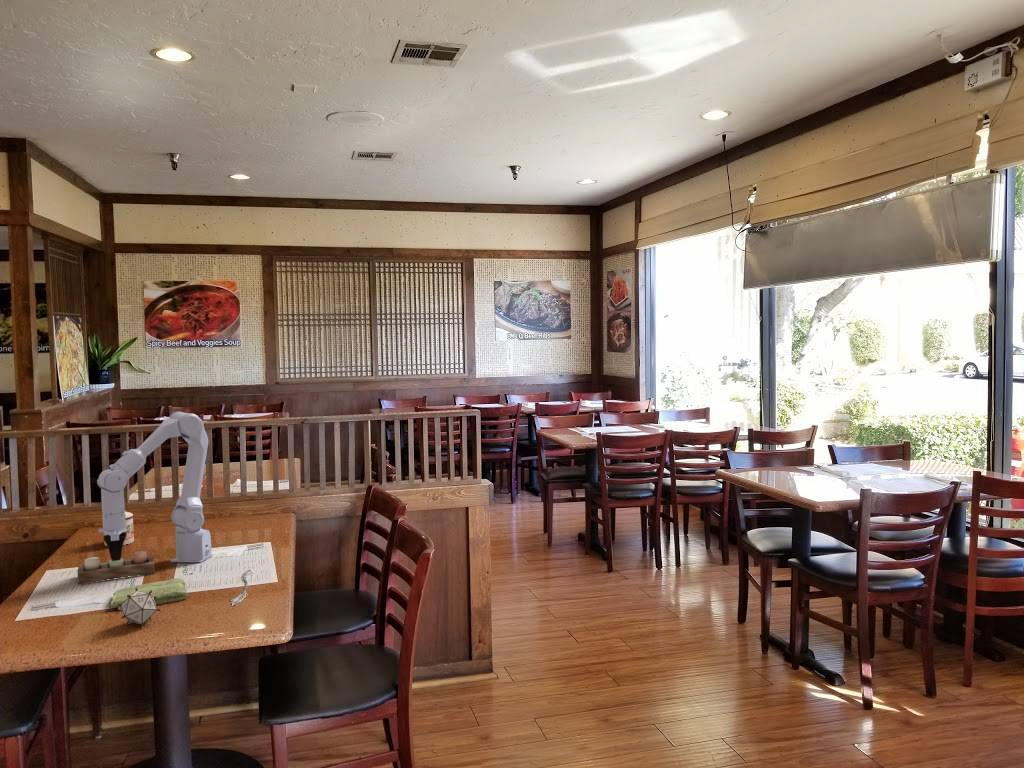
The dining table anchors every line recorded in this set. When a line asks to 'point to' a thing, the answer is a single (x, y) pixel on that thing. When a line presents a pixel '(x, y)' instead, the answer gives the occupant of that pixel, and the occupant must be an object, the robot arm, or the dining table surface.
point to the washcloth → (154, 592)
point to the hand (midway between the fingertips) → (116, 560)
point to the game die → (139, 607)
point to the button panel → (115, 571)
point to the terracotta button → (139, 557)
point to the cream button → (92, 563)
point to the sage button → (116, 563)
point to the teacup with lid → (129, 529)
